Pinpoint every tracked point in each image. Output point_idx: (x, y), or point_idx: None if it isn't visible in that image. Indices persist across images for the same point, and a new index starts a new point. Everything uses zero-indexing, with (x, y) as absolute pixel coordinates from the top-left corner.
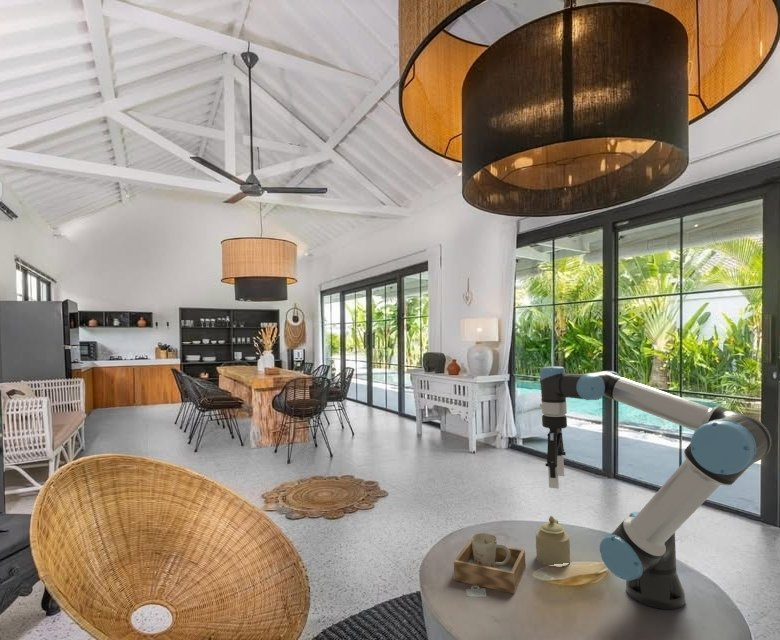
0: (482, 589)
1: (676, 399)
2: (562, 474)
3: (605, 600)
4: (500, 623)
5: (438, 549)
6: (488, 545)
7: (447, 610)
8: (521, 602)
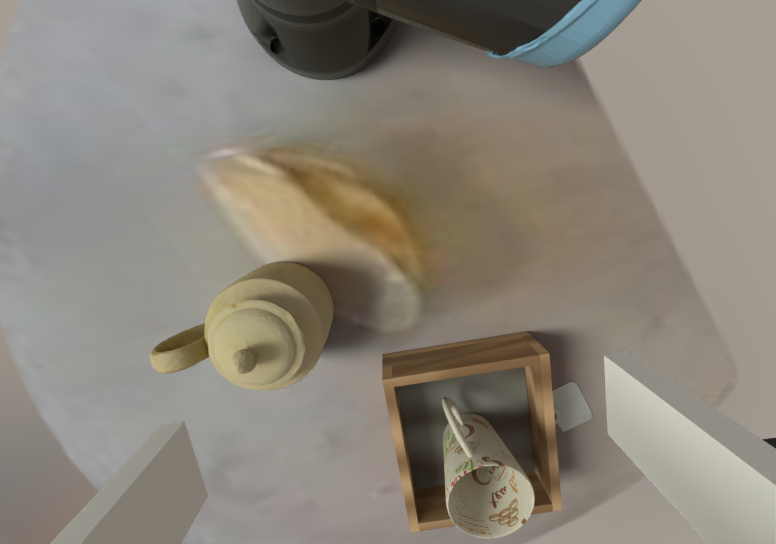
0: None
1: None
2: (179, 445)
3: (433, 119)
4: (664, 311)
5: None
6: (522, 470)
7: None
8: (555, 303)
